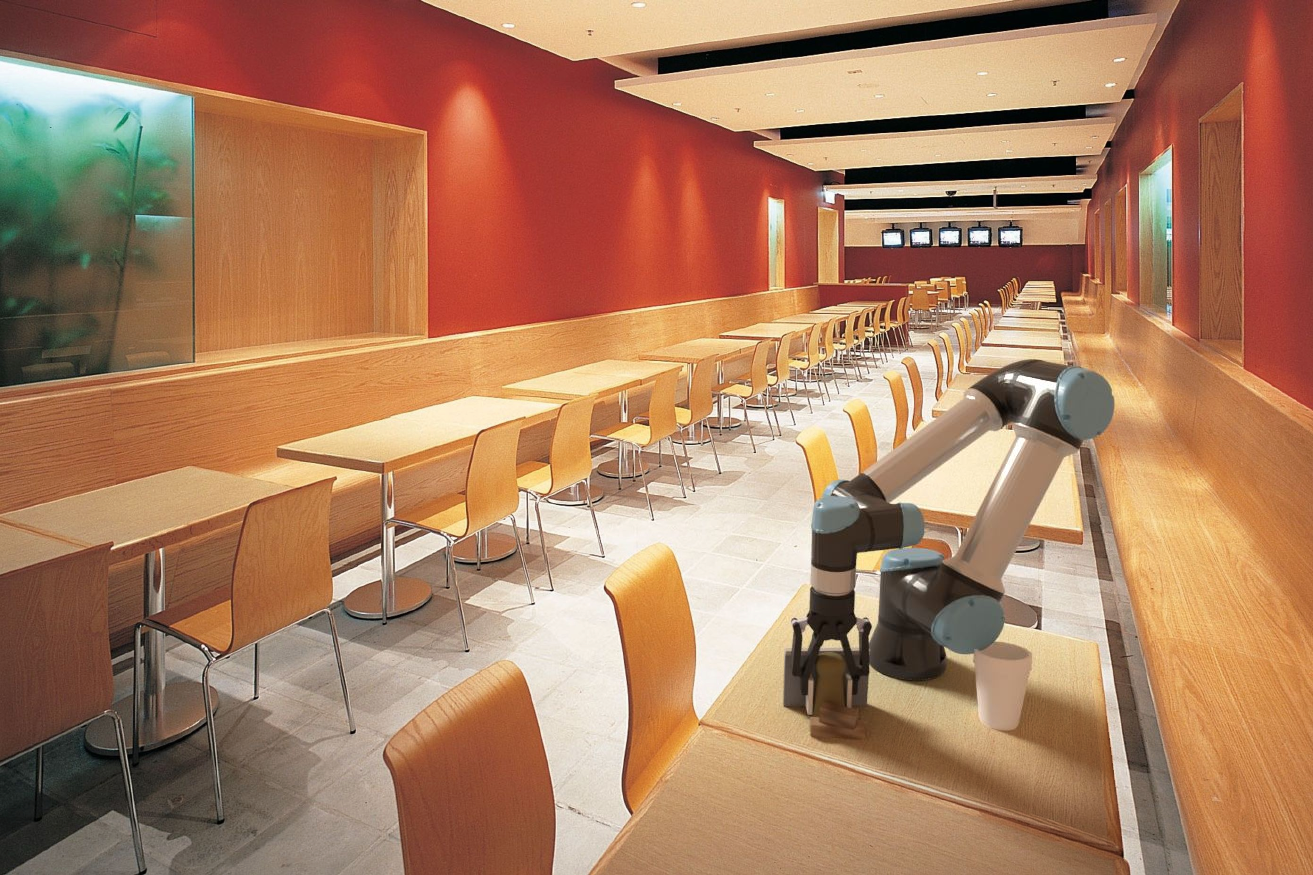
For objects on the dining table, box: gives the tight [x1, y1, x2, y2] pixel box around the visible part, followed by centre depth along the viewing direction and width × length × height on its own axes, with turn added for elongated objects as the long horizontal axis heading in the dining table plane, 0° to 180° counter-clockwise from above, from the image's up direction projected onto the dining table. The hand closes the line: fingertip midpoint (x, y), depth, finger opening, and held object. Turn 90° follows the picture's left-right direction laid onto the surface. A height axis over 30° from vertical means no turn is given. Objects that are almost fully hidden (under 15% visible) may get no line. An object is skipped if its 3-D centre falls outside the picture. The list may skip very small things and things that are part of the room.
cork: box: [812, 652, 846, 717], centre depth 150 cm, size 6×6×11 cm
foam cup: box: [972, 641, 1033, 732], centre depth 149 cm, size 10×9×13 cm
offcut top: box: [819, 702, 859, 730], centre depth 146 cm, size 6×2×2 cm, turn 65°
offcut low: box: [808, 716, 866, 740], centre depth 146 cm, size 9×3×2 cm, turn 85°
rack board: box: [782, 647, 870, 707], centre depth 154 cm, size 15×1×11 cm, turn 91°
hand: (828, 710), depth 152 cm, fingers closed on cork, 6 cm apart
